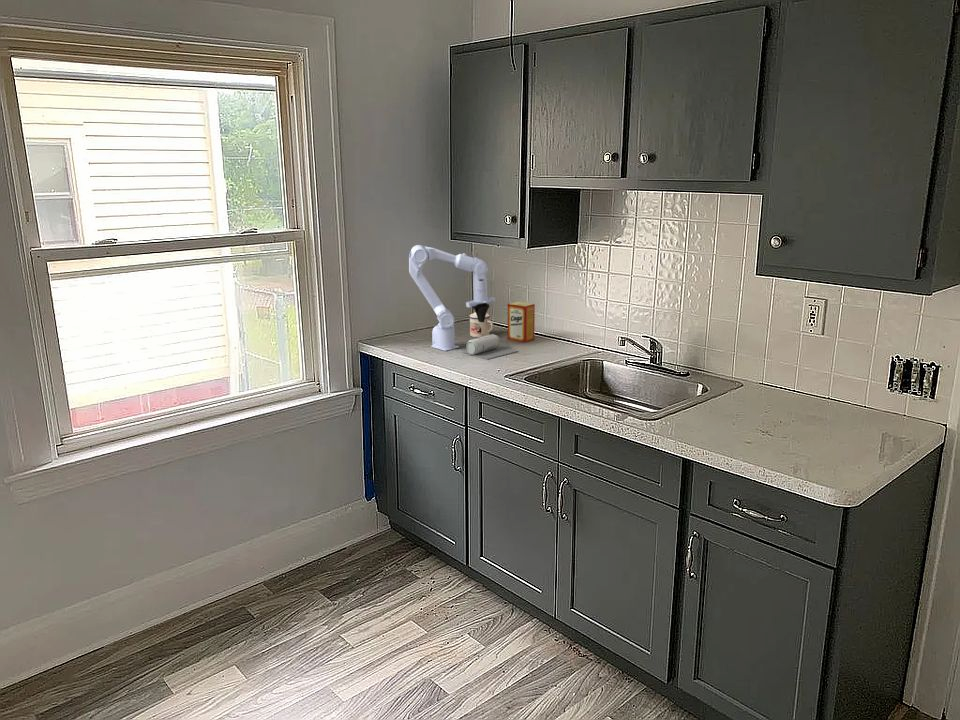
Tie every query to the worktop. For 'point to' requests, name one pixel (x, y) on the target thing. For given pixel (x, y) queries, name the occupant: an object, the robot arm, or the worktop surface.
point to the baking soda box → (521, 321)
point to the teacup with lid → (480, 326)
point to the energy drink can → (482, 344)
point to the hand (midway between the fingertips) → (481, 321)
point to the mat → (493, 353)
